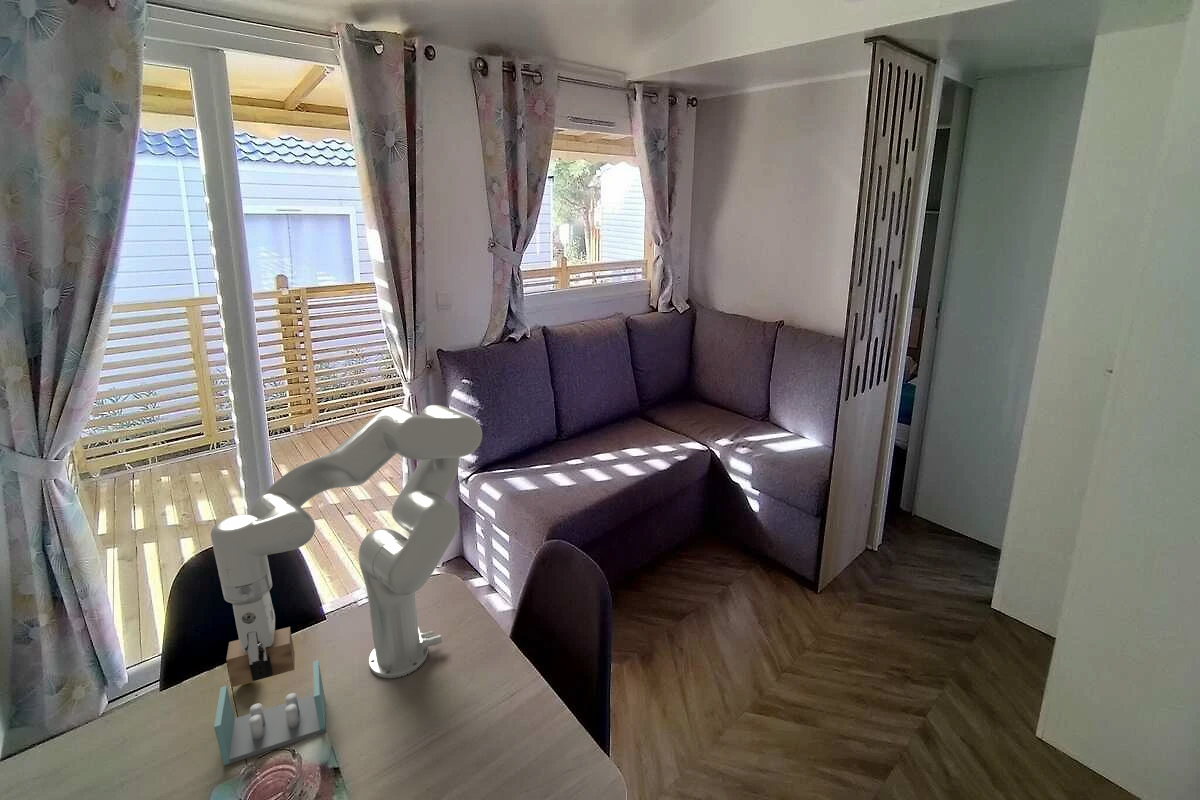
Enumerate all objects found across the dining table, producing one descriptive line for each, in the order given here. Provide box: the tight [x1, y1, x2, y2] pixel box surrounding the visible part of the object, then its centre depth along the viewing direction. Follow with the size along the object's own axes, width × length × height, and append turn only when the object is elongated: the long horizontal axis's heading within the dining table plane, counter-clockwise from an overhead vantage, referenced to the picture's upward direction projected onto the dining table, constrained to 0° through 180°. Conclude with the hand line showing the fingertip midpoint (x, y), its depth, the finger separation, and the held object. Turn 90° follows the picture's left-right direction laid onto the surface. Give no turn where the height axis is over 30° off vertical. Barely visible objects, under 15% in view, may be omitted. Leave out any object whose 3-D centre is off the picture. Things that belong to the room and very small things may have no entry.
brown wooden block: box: [225, 626, 296, 688], centre depth 110 cm, size 10×5×6 cm, turn 116°
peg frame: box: [213, 659, 327, 766], centre depth 114 cm, size 17×10×9 cm, turn 116°
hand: (263, 666), depth 111 cm, fingers closed on brown wooden block, 5 cm apart
